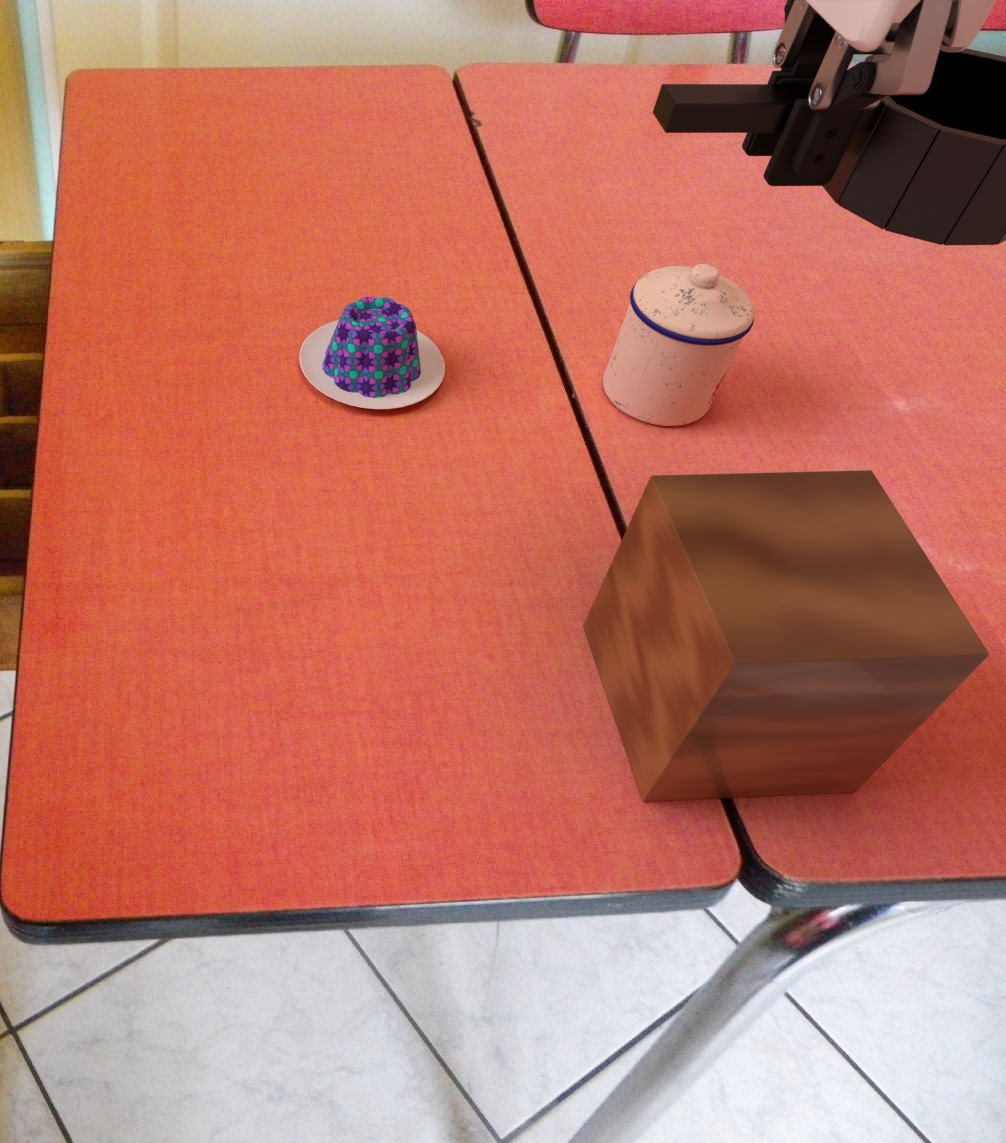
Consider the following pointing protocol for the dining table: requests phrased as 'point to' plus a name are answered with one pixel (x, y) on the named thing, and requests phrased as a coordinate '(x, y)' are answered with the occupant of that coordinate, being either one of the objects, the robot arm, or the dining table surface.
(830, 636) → the wooden cube
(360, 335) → the pudding
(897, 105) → the pan
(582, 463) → the dining table surface
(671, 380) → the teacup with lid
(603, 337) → the dining table surface
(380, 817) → the dining table surface
